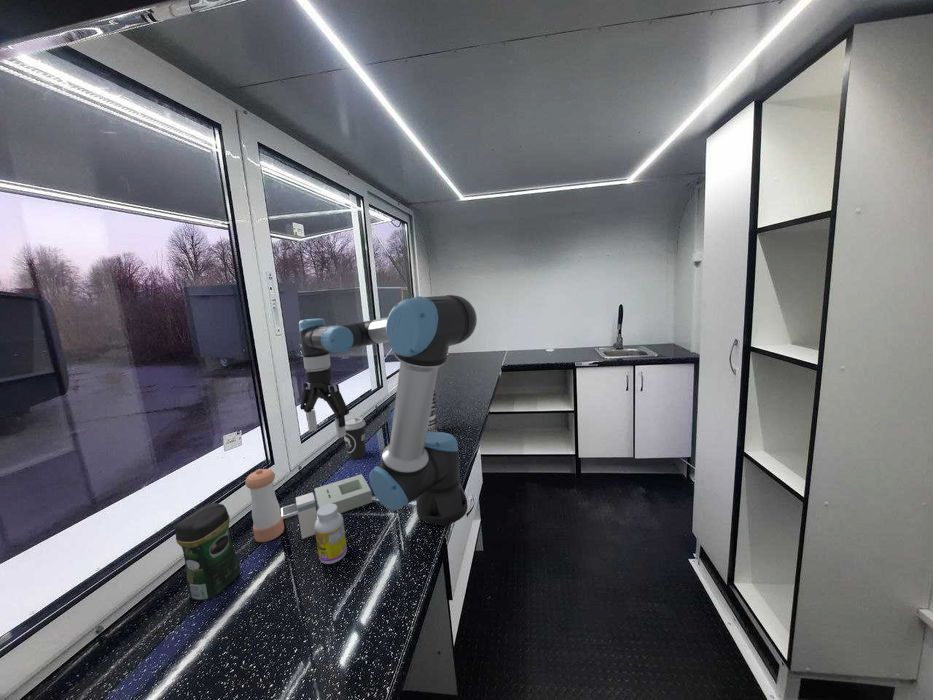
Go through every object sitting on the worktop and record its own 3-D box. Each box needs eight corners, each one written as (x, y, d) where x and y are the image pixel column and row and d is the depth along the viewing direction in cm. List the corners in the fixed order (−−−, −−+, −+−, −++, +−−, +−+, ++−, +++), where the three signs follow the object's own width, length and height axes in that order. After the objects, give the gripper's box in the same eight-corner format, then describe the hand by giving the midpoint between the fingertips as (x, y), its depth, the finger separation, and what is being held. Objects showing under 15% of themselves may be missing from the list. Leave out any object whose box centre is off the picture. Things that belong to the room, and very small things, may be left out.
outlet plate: (321, 519, 102) (319, 507, 102) (315, 499, 113) (314, 488, 112) (372, 502, 110) (371, 490, 109) (362, 484, 120) (361, 473, 119)
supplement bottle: (315, 555, 89) (308, 508, 86) (341, 541, 93) (335, 497, 91) (324, 570, 83) (317, 521, 81) (351, 555, 88) (345, 509, 85)
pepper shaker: (251, 545, 94) (238, 479, 90) (259, 527, 100) (248, 465, 97) (280, 538, 95) (270, 473, 92) (286, 522, 102) (276, 461, 99)
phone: (314, 508, 108) (314, 505, 108) (281, 519, 104) (281, 516, 103) (312, 501, 112) (312, 497, 112) (281, 511, 108) (280, 507, 108)
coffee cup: (365, 460, 137) (360, 424, 135) (340, 461, 138) (336, 425, 135) (371, 449, 147) (368, 415, 144) (349, 450, 147) (345, 416, 145)
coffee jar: (220, 566, 87) (207, 497, 84) (247, 570, 85) (234, 500, 82) (181, 600, 77) (164, 524, 74) (209, 605, 75) (193, 528, 72)
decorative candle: (441, 430, 163) (438, 378, 159) (431, 438, 155) (427, 383, 151) (425, 428, 167) (420, 377, 163) (414, 435, 159) (409, 382, 154)
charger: (319, 532, 97) (314, 499, 95) (301, 539, 95) (296, 505, 93) (317, 523, 101) (312, 492, 99) (300, 529, 99) (295, 497, 97)
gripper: (355, 368, 106) (363, 434, 109) (303, 364, 118) (312, 424, 122) (335, 374, 99) (344, 444, 103) (282, 369, 112) (292, 432, 115)
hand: (327, 433), depth 112 cm, fingers open, 13 cm apart
